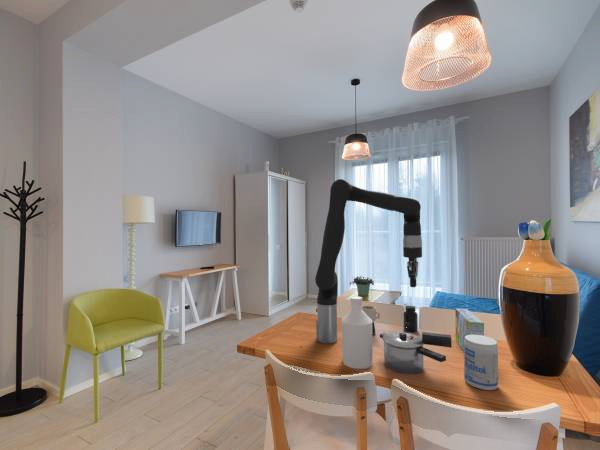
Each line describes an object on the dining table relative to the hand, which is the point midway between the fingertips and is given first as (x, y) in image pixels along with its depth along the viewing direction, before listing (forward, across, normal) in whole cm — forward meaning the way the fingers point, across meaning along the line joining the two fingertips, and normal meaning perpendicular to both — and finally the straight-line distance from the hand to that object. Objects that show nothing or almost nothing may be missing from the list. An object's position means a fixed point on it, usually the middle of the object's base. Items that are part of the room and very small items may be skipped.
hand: (413, 286), depth 123 cm
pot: (+27, +17, +1) cm, 32 cm away
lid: (+18, +15, +3) cm, 24 cm away
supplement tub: (+27, +17, +24) cm, 40 cm away
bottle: (+27, +22, -18) cm, 39 cm away
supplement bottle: (+27, -25, -6) cm, 38 cm away
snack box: (+27, -12, +20) cm, 36 cm away
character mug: (+27, -11, -23) cm, 37 cm away
